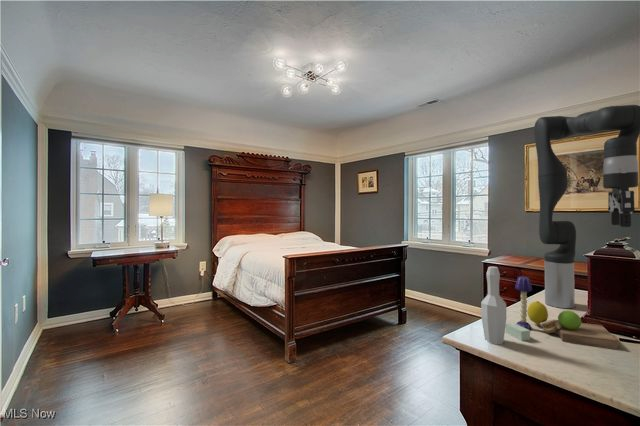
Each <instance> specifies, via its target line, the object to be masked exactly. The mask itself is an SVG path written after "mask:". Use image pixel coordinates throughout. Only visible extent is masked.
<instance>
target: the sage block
mask: <svg viewBox="0 0 640 426" xmlns="http://www.w3.org/2000/svg"><path fill="white" fill-rule="evenodd" d="M505 334H507V335H509V336H510V337H514V338H515V339H517V340H519V341H521V342H523V341H530V340H531V330H528V329H526V328H524V327H521V326H519V325H517V323H514V322H511V323H506V326H505Z"/></svg>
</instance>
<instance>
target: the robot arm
mask: <svg viewBox="0 0 640 426" xmlns="http://www.w3.org/2000/svg"><path fill="white" fill-rule="evenodd" d="M618 130H619V132H618V133H619V134H617V135H618V136H615V137H612V138H609V139H606V141H605V142H604V144H603V166H602V178H603V179H602V181H603V182H602V183H603V185H602V186H603V189H608V190H609V189H611V191H610V192H608V194H607V195H608V202H607V203H608V204H607V205H608V206H607V210H608V211H609V213H610V224H611V225H612V226H619V227H622V228H630V227H631V226H632V214H633V212H635V210H636V209H635V191H634V190H630V189H631V188H632V189H633V188H634V189H635V188H637V187H638V186H639V162H638V156H637V155H638V148H637V142H638V139H639V137H640V105H638V104H627V105H626V104H625V105H611V106H605V107H601V108H599V109H597V110H592V111H588V112H583V113H581V114H578V115H577V116H563V115H557V116H556V115H555V116H552V115H551V116H540V117H538V118H537V120H536V121H535V123H534V126H533V135H534V142H535V149H536V157H537V182H538V183H537V184H538V194H539V217H538V219H539V220H538V235H539V240H540V241H541V243H542V244H544V245H559V246H558V247H557V249H554V250H552V251H548V252H546V253H545V254H544V259H543V260H544V303H545V304H546V305H547V306H550V307H555V308H560V309H573V308H575V305H576V303H575V295H576V293H575V257H576V246H577V245H576V243H577V242H576V241H577V229H576V226H575V224H574V223H573V221H569V220H553V216H554V214H553V213H554V210H555V208H556V206H557V205H558V203H559V202H560V200H561V199H562V197H563V196H564V194H565V193H566V191H567V189H568V186H569V185H568V171H567V168H566V166H565V165H564V164H563V162H562V161H561V160H560V158H558V156H557V155H556V153H555V152H554V149H553V147H552V143H551V141H556V140H557V141H558V140H561V139H565V138H569V137H571V136H574V135H577V134H581V135H582V134H591V133H600V132H603V131H618ZM629 188H630V189H629Z"/></svg>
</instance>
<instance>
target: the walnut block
mask: <svg viewBox="0 0 640 426" xmlns="http://www.w3.org/2000/svg"><path fill="white" fill-rule="evenodd" d="M552 320H555V318H554V319H552ZM556 320H557V321H558V319H556ZM555 332H556V334H558V337H559V338H560V340H561V341H562V343H563V342H565V343H570V344H577V345H584V346H591V347H599V348H606V349H612V350H618V348H619V346H618V345H619V344H618V339H617V338H615V336H613V335H612V334H611V333H610V331H608V330H607V329H606V328H605V327H604V326H603V325H602V324H596V323H595V324H594V323H586V322H581V325H580V327H579V328H577V329H574V330H571V329H567V328H565V327H563V326H562V327H561V328H560V329H558V330H557V331H555Z"/></svg>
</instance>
